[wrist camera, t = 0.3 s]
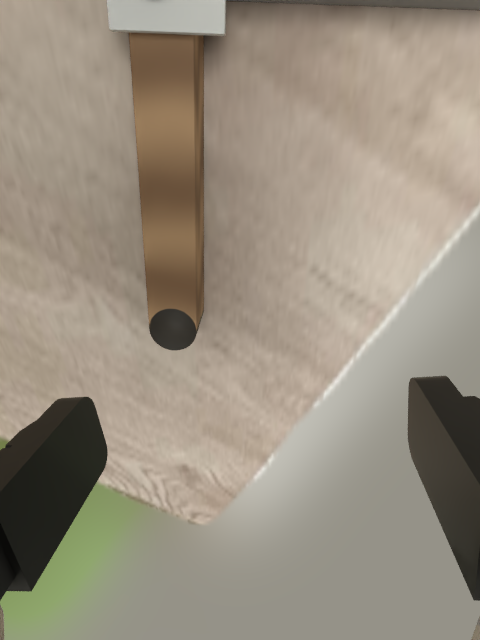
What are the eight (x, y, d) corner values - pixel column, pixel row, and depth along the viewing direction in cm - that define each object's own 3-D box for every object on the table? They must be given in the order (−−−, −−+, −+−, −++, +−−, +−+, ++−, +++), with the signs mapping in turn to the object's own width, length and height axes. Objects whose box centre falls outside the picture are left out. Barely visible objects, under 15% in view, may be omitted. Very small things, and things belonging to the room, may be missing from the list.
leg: (143, -42, 23) (121, -72, 19) (203, -40, 23) (192, -70, 19) (162, 324, 34) (150, 348, 30) (203, 327, 34) (196, 351, 30)
